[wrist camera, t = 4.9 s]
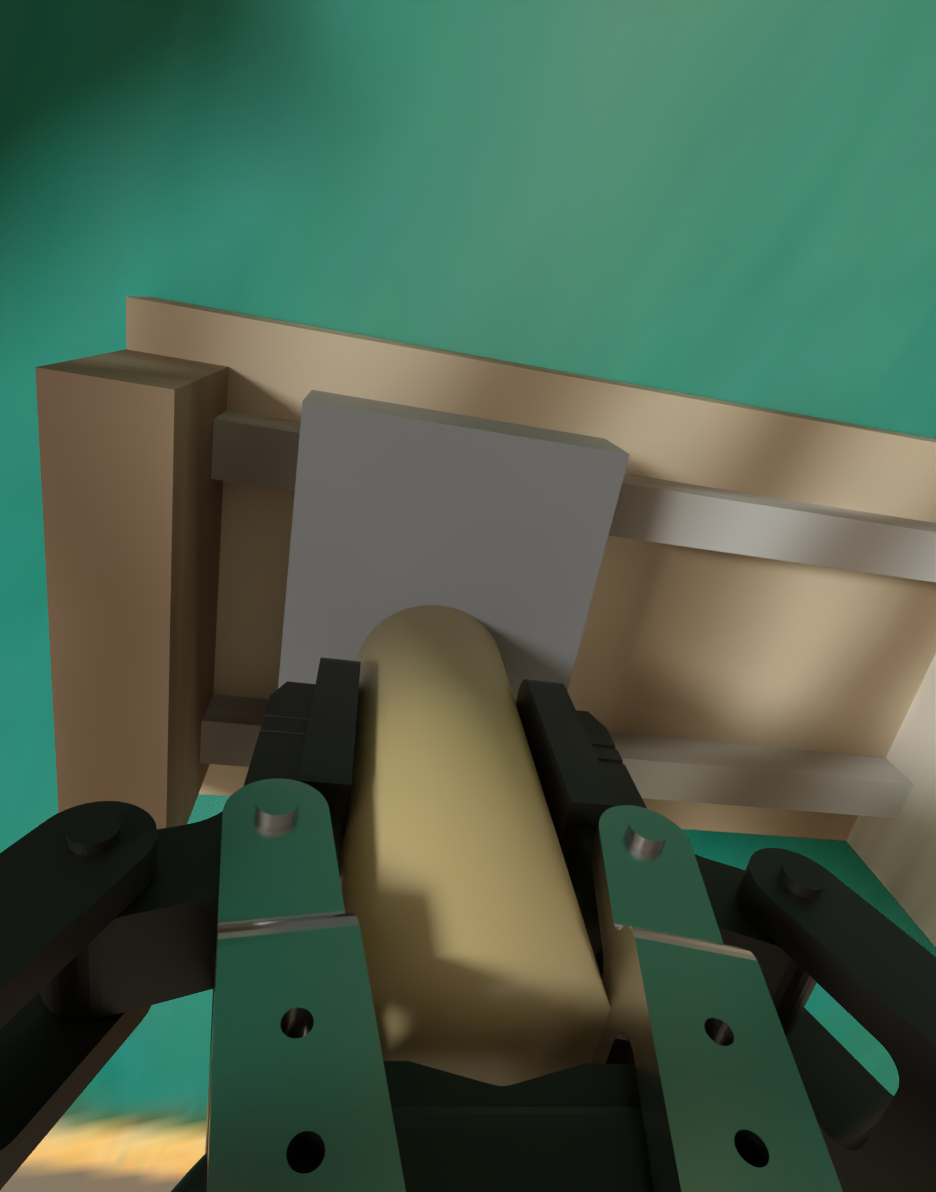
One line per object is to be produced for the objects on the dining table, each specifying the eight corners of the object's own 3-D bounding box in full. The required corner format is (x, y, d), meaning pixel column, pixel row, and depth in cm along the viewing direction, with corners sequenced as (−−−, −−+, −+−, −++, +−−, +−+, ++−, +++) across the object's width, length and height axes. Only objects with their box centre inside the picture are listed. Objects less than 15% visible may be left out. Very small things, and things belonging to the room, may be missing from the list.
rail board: (1194, 485, 20) (1956, 663, 10) (998, 827, 24) (1398, 1175, 15) (149, 296, 15) (-260, 295, 6) (147, 760, 20) (-83, 1199, 10)
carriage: (605, 438, 15) (937, 653, 6) (510, 821, 18) (623, 1309, 9) (311, 389, 14) (169, 559, 5) (274, 804, 17) (156, 1329, 8)
